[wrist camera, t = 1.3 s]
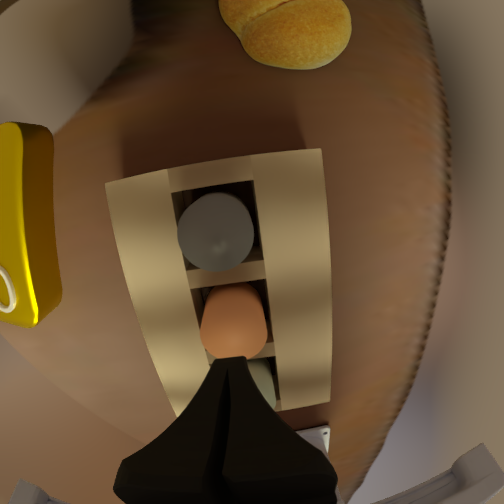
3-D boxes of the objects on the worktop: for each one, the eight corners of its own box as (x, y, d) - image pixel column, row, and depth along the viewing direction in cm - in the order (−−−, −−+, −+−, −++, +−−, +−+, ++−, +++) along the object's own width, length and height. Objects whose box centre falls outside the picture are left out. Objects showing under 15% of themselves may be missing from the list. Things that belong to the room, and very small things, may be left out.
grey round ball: (254, 246, 17) (258, 266, 14) (194, 255, 17) (185, 276, 14) (245, 186, 16) (248, 190, 13) (184, 196, 16) (170, 203, 13)
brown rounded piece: (264, 325, 19) (270, 357, 15) (211, 332, 19) (207, 364, 15) (258, 276, 18) (263, 301, 14) (200, 284, 18) (193, 310, 14)
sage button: (272, 384, 20) (278, 416, 17) (226, 389, 20) (225, 422, 17) (267, 348, 19) (273, 380, 16) (217, 354, 19) (214, 387, 16)
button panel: (321, 377, 22) (330, 401, 19) (183, 395, 22) (178, 419, 19) (307, 151, 17) (320, 148, 14) (123, 180, 17) (104, 183, 14)
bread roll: (269, 92, 16) (277, 72, 12) (204, 1, 14) (198, -29, 10) (367, 53, 15) (392, 34, 11) (301, -30, 13) (312, -58, 9)
